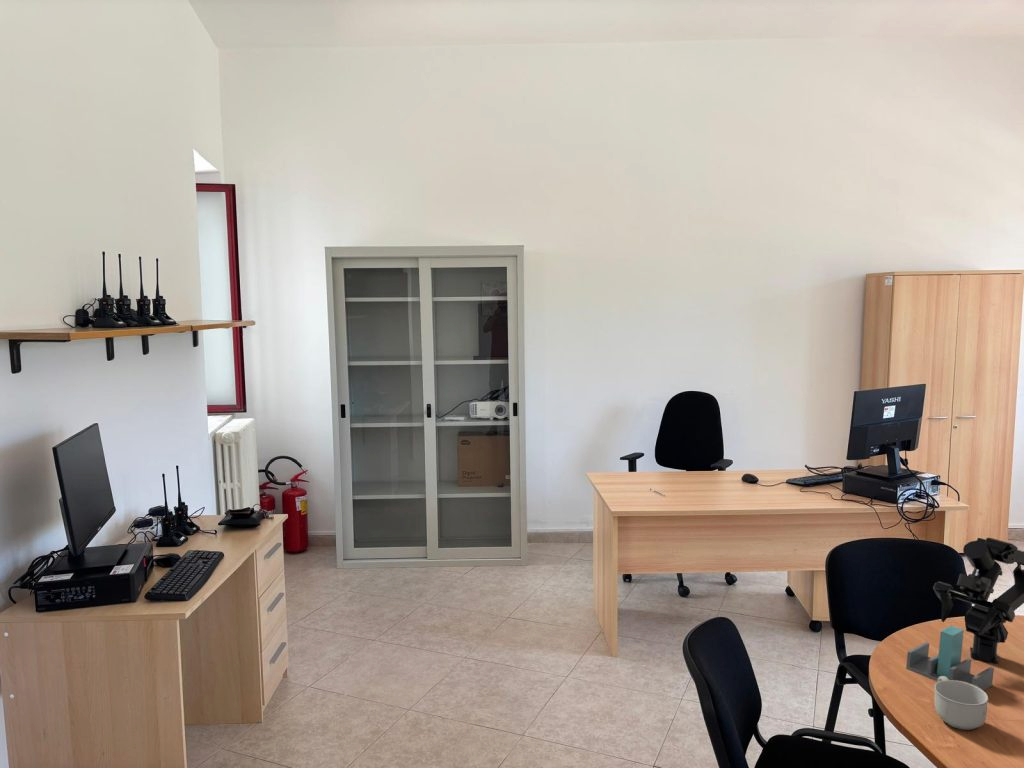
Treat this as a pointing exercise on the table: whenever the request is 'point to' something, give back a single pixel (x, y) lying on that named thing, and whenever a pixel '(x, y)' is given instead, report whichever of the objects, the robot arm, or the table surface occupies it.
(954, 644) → the block
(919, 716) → the table surface
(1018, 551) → the robot arm
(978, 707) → the teacup
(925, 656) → the rack
